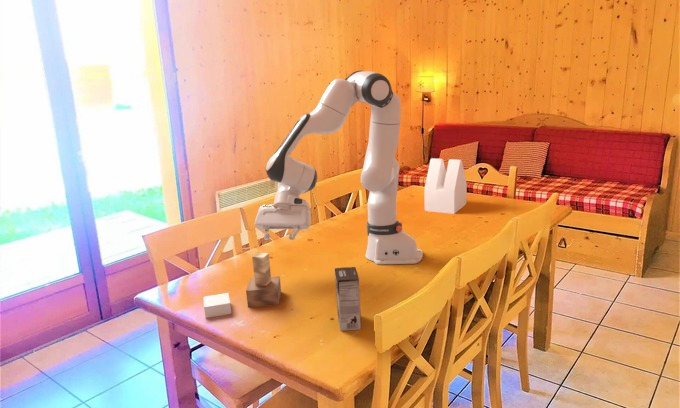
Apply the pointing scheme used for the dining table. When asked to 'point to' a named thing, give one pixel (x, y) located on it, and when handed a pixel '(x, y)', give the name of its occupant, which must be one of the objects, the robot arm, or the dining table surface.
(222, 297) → the white square block
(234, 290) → the dining table surface
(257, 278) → the oak pillar
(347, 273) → the coffee box
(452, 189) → the white notched block
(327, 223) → the dining table surface
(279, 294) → the walnut block
